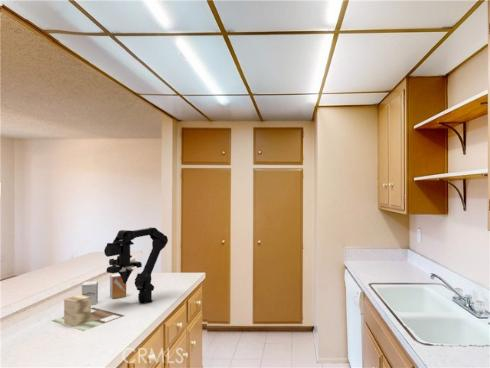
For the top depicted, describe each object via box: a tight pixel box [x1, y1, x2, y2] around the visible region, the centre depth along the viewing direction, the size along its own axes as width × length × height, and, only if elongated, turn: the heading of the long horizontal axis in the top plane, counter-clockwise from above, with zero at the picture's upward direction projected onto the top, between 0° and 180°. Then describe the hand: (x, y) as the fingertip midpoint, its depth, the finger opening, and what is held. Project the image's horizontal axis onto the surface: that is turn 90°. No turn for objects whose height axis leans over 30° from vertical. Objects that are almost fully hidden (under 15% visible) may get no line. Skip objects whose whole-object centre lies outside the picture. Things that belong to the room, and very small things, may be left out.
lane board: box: [51, 307, 126, 332], centre depth 164 cm, size 22×25×2 cm
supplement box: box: [81, 280, 99, 306], centre depth 187 cm, size 7×7×13 cm
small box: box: [109, 273, 127, 300], centre depth 204 cm, size 8×6×13 cm
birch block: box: [63, 294, 92, 326], centre depth 159 cm, size 8×8×11 cm
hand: (124, 283), depth 183 cm, fingers closed
